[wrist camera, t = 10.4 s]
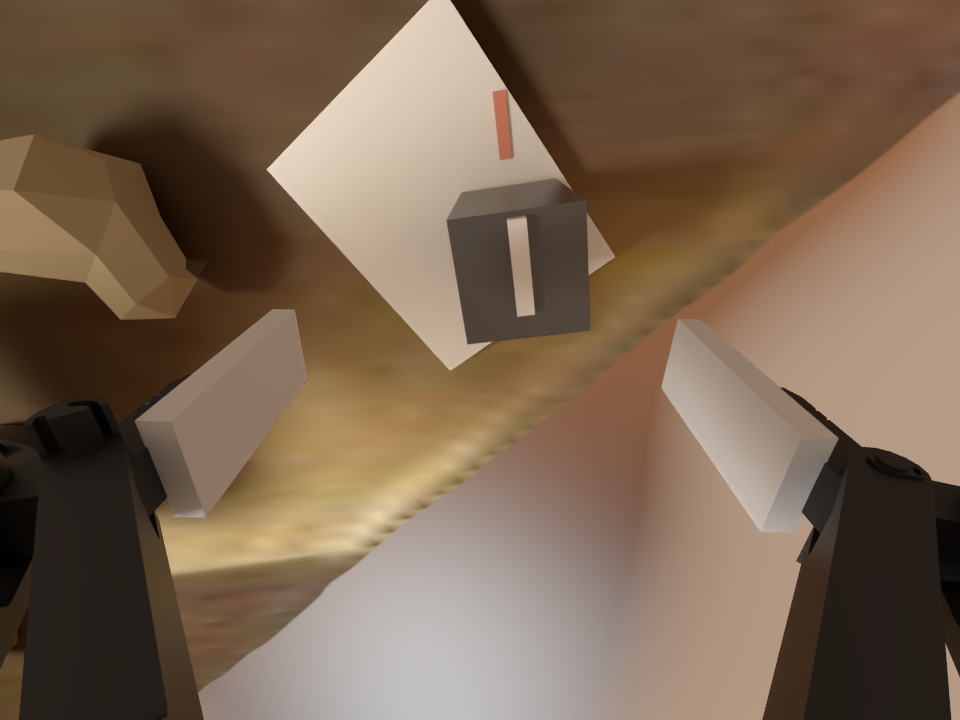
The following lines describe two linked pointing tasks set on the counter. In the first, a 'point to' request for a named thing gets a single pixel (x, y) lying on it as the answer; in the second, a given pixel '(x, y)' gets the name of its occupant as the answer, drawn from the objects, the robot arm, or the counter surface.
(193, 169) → the counter surface
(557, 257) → the grey block with stripe
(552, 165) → the panel
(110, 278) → the low-poly potato
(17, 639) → the wooden container
